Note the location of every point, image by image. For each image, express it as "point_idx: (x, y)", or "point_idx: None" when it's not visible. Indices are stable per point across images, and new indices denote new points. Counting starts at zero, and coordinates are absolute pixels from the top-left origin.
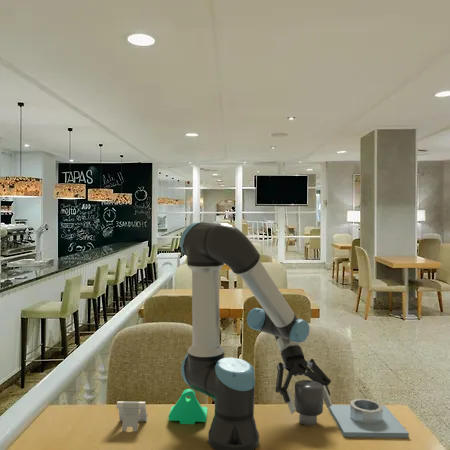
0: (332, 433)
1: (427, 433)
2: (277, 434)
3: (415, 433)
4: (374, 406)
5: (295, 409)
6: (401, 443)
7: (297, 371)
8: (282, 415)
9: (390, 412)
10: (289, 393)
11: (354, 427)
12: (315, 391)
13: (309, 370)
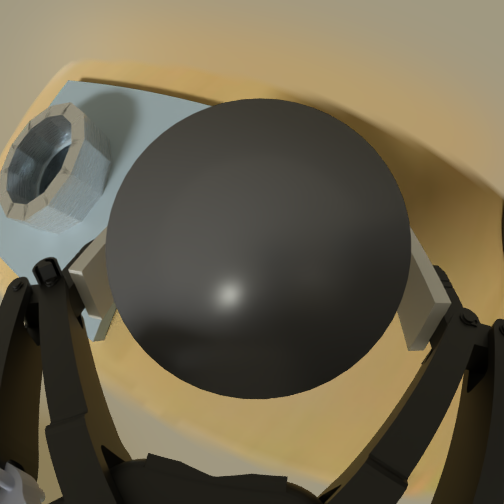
0: None
1: (33, 103)
2: (444, 229)
3: (46, 104)
4: (17, 174)
5: None
6: (109, 68)
7: (259, 497)
8: (342, 377)
9: None
10: (434, 284)
11: (151, 125)
12: (279, 102)
13: (72, 425)
